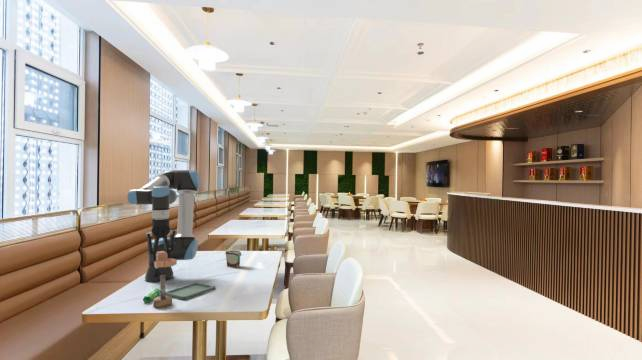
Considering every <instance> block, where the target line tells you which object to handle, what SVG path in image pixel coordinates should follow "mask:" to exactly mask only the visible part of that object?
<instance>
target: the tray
mask: <svg viewBox="0 0 642 360" xmlns="http://www.w3.org/2000/svg"><path fill="white" fill-rule="evenodd" d="M214 290H216V285H211V284H207V283H203V282H202V283H201V282H197V281H194V282H192V283H188V284H184V285H182V286H179V287H176V288H172V289H169V290H167V291H166V290H165V295H166V296H171V297H172V299H177V300H181V301H186V300H189V299H192V298H195V297H198V296H201V295H203V294H206V293H209V292H211V291H214Z"/></svg>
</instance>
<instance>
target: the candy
mask: <svg viewBox="0 0 642 360" xmlns="http://www.w3.org/2000/svg"><path fill="white" fill-rule="evenodd" d="M159 295H160V288H154V290H152V291H150V292H149V293H148V294H147V295H146V296H144V297H143V299H142V301H143V303H144V304H146V303H150V302H151V301H153V300H154V298H156V297H158V296H159Z"/></svg>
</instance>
